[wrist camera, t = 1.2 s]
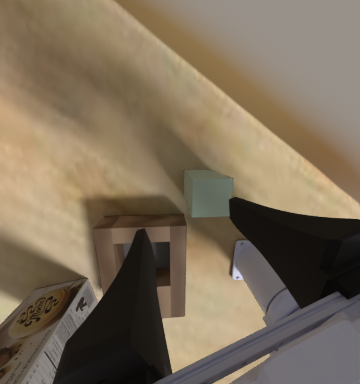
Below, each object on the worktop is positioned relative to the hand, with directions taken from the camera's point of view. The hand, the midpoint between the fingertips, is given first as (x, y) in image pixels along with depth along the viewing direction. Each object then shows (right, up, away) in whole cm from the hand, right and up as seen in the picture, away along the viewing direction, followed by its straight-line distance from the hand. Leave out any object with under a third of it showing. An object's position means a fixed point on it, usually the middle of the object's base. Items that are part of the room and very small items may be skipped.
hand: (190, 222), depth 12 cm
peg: (+2, +4, +11) cm, 11 cm away
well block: (-6, -9, +13) cm, 17 cm away
